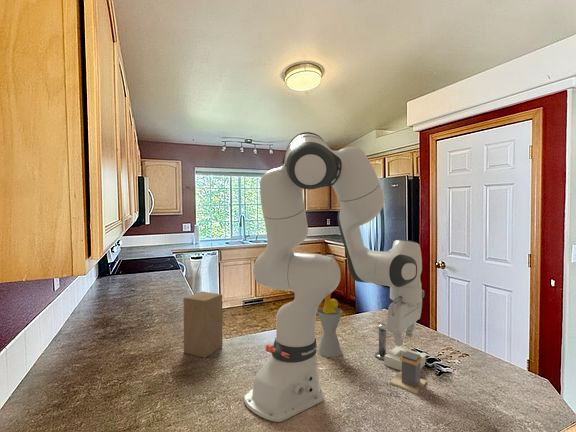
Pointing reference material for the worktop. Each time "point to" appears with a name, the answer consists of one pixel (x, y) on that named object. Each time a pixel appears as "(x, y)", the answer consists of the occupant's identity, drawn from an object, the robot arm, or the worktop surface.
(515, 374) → the worktop surface
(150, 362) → the worktop surface
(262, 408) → the robot arm
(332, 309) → the lava lamp
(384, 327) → the grey metal bar
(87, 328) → the worktop surface
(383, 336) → the post
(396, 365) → the socket
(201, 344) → the wooden block
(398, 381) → the coaster
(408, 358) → the plug
